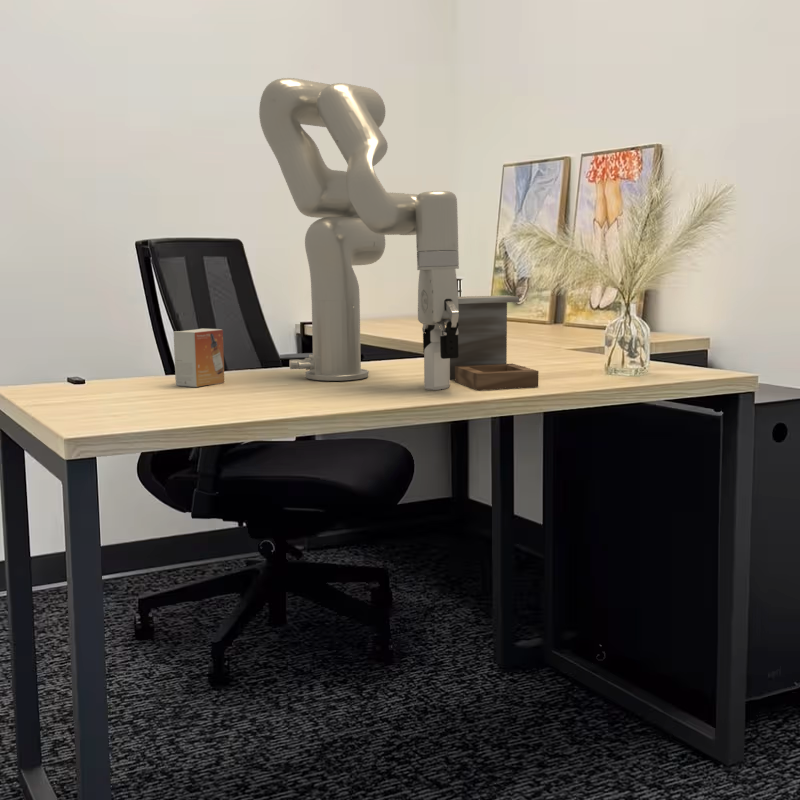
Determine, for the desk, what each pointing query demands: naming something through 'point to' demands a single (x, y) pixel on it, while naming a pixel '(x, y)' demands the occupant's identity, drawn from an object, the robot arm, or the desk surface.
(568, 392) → the desk surface
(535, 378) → the display stand with tray
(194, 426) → the desk surface
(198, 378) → the small box
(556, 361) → the desk surface
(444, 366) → the eye dropper bottle
